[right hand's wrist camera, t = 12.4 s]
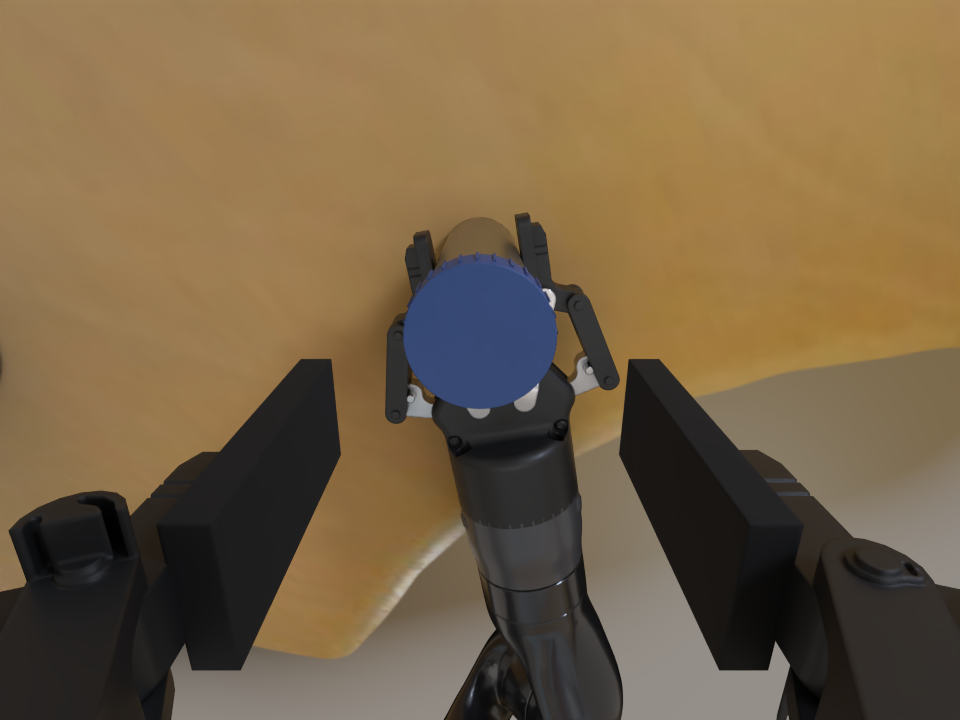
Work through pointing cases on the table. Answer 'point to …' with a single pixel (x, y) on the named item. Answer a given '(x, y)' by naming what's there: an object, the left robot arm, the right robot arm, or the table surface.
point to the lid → (480, 331)
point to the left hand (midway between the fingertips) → (472, 225)
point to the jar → (479, 241)
